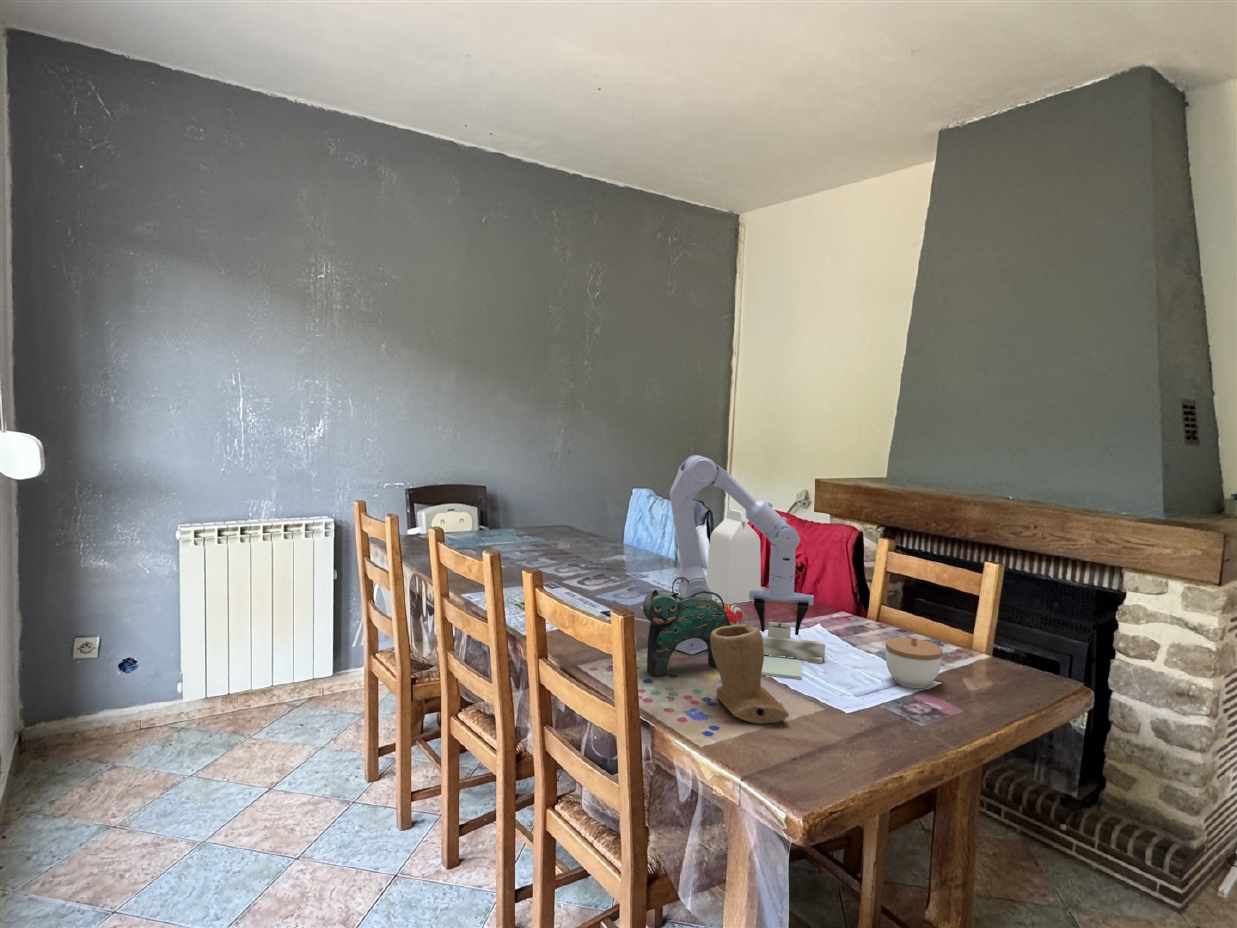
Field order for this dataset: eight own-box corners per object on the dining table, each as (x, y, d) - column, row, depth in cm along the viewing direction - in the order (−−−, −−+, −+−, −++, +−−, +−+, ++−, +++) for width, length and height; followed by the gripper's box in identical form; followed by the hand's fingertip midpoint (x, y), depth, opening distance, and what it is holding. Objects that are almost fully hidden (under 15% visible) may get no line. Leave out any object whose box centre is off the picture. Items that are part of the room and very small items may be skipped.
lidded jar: (872, 675, 146) (874, 632, 146) (912, 670, 150) (915, 627, 149) (910, 695, 136) (913, 648, 136) (952, 689, 140) (955, 643, 139)
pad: (801, 662, 153) (801, 660, 153) (801, 679, 143) (801, 676, 143) (754, 657, 155) (754, 655, 155) (751, 673, 146) (751, 670, 145)
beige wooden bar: (823, 658, 156) (824, 640, 156) (824, 664, 152) (825, 646, 152) (733, 648, 161) (734, 631, 161) (732, 653, 157) (732, 636, 157)
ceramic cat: (648, 680, 141) (651, 582, 139) (635, 668, 147) (638, 574, 145) (733, 669, 148) (737, 576, 147) (718, 658, 154) (721, 569, 153)
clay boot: (700, 693, 134) (703, 617, 133) (760, 692, 136) (763, 616, 135) (723, 729, 119) (726, 643, 118) (789, 726, 121) (793, 642, 120)
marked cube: (789, 644, 165) (790, 623, 165) (789, 651, 161) (790, 629, 160) (768, 642, 167) (769, 621, 166) (767, 648, 162) (768, 627, 161)
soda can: (746, 630, 172) (744, 648, 161) (718, 631, 174) (713, 649, 163) (743, 602, 172) (740, 618, 160) (715, 603, 174) (709, 619, 162)
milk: (705, 594, 209) (708, 508, 207) (737, 591, 214) (740, 507, 212) (727, 605, 198) (731, 514, 196) (760, 601, 203) (764, 512, 201)
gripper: (813, 573, 165) (811, 630, 166) (751, 568, 168) (749, 624, 169) (814, 580, 158) (812, 639, 159) (749, 575, 161) (747, 632, 162)
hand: (779, 632), depth 163 cm, fingers open, 7 cm apart
